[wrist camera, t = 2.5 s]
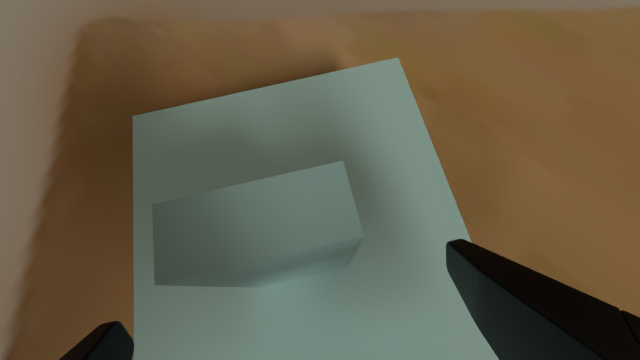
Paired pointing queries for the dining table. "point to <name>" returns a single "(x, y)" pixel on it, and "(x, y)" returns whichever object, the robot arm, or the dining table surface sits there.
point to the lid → (297, 227)
